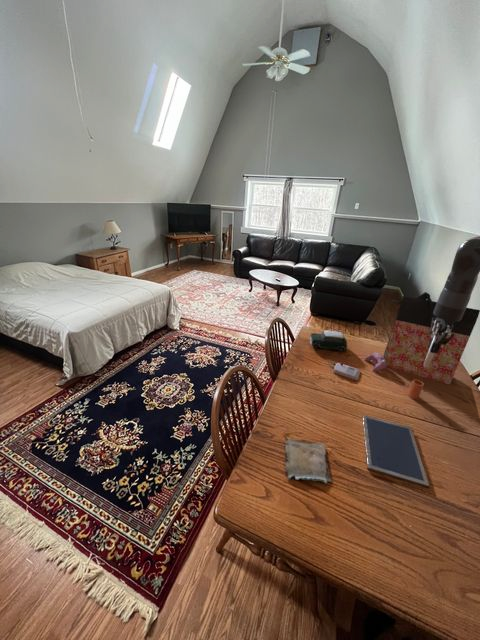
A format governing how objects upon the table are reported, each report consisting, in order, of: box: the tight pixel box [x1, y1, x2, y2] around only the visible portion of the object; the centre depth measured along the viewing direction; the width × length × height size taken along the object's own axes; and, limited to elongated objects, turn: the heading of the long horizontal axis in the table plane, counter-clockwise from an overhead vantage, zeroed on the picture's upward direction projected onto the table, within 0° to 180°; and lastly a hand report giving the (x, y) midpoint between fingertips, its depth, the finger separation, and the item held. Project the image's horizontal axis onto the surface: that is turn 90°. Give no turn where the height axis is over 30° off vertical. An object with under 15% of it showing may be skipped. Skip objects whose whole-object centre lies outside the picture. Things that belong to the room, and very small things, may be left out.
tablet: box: [361, 414, 430, 489], centre depth 82 cm, size 15×21×1 cm
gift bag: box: [382, 291, 480, 385], centre depth 114 cm, size 29×14×35 cm, turn 60°
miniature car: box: [309, 329, 348, 353], centre depth 134 cm, size 9×18×8 cm, turn 80°
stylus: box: [424, 335, 435, 368], centre depth 91 cm, size 2×2×13 cm
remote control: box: [327, 361, 362, 381], centre depth 116 cm, size 7×16×3 cm, turn 58°
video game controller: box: [363, 352, 388, 373], centre depth 120 cm, size 10×5×7 cm, turn 0°
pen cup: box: [407, 379, 425, 400], centre depth 102 cm, size 4×4×7 cm
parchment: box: [284, 438, 332, 485], centre depth 76 cm, size 12×13×1 cm
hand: (432, 350), depth 91 cm, fingers closed on stylus, 2 cm apart
